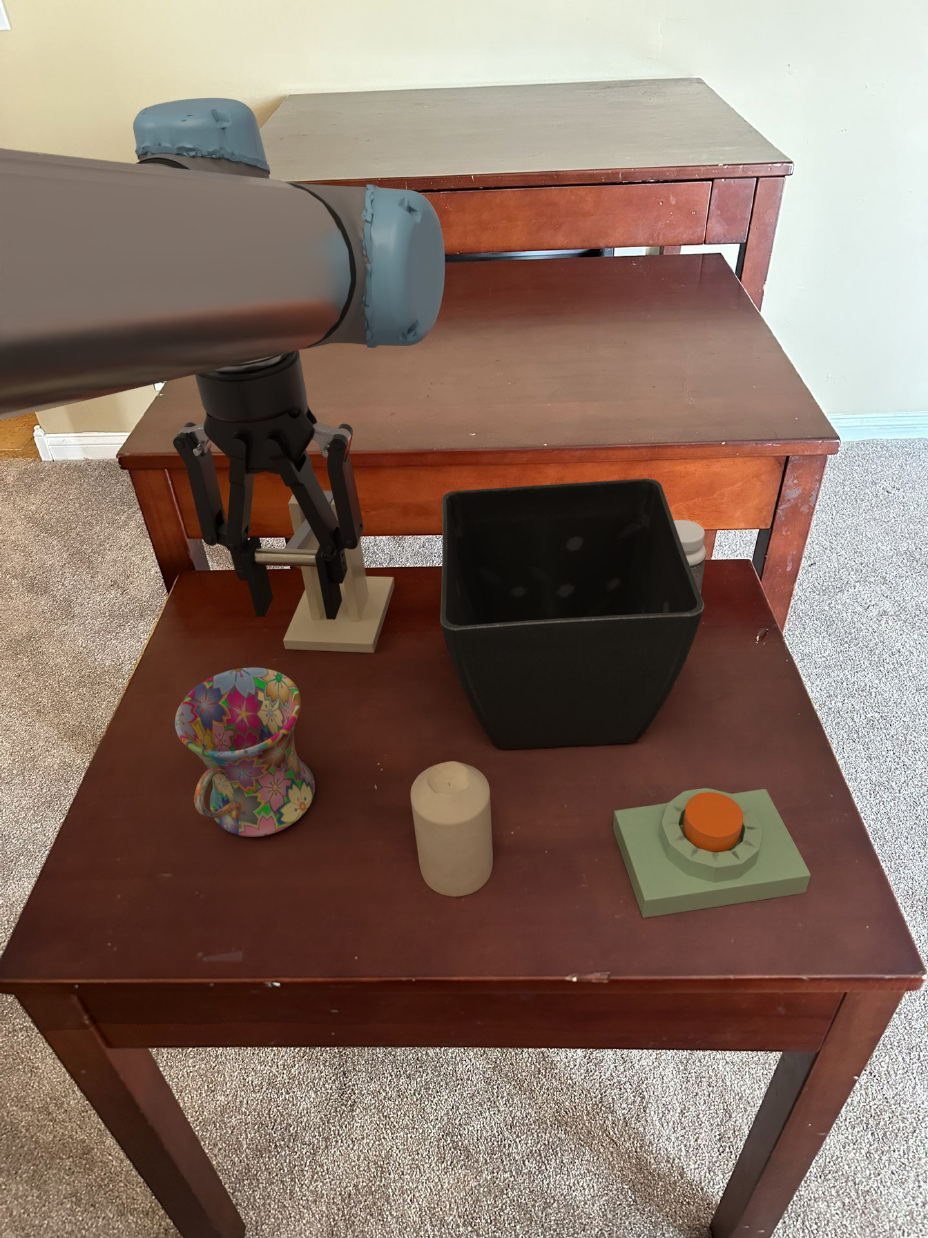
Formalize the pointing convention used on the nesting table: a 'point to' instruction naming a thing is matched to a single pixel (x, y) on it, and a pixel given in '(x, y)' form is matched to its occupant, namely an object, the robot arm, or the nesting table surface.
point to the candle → (453, 828)
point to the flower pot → (566, 609)
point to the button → (712, 821)
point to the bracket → (357, 610)
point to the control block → (707, 857)
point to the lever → (292, 548)
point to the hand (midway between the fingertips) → (299, 608)
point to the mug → (247, 750)
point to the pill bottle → (693, 547)
